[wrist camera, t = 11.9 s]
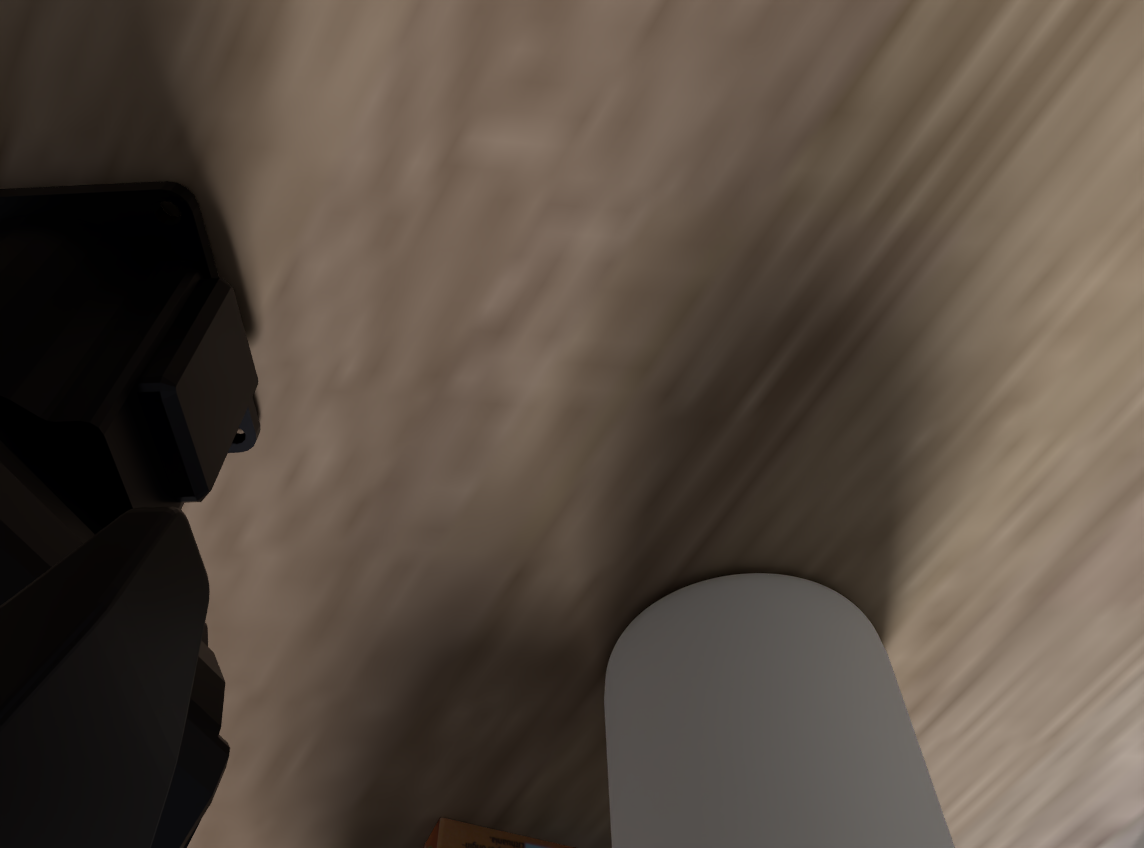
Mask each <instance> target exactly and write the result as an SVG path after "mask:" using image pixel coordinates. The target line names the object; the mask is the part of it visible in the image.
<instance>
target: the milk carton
mask: <svg viewBox="0 0 1144 848" xmlns="http://www.w3.org/2000/svg"><path fill="white" fill-rule="evenodd" d="M423 848H574V847H570V846H565V845H561V844H557V843H552V842H548V841H543V840H539V839H535V838H530V837H526V836H521V835H517V834H513V833H508V832H504V831H499V830H495V829H491V828H486V827H482V826H477V825H473V824H469V823H464V822H460V821H455V820H451V819H447V818H442V817H440V819H439V820H438V822H437V824H436V826H435V827H434V829H433V831H432V833H431V834H430V836H429V838H428V840H427V841H426V843H425V845H424V847H423Z"/></svg>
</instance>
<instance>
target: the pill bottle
mask: <svg viewBox="0 0 1144 848" xmlns="http://www.w3.org/2000/svg"><path fill="white" fill-rule="evenodd" d="M604 709H605V728H606V746H607V765H608V784H609V802H610V821H611V840H612V848H955V847H954V844H953V841H952V838H951V835H950V832H949V829H948V826H947V824H946V821H945V818H944V815H943V812H942V809H941V806H940V803H939V801H938V798H937V795H936V792H935V789H934V786H933V783H932V780H931V778H930V775H929V772H928V769H927V766H926V763H925V760H924V757H923V755H922V752H921V749H920V746H919V743H918V740H917V737H916V734H915V732H914V729H913V726H912V723H911V720H910V717H909V714H908V711H907V708H906V706H905V703H904V700H903V697H902V694H901V691H900V688H899V685H898V683H897V680H896V677H895V674H894V671H893V668H892V665H891V662H890V660H889V657H888V654H887V652H886V649H885V647H884V646H883V644H882V642H881V640H880V637H879V635H878V633H877V632H876V630H875V628H874V626H873V625H872V623H871V622H870V621H869V619H868V618H867V617H866V616H865V614H864V613H863V612H862V611H861V610H860V609H859V608H858V607H857V606H856V605H854V604H853V603H852V602H851V601H849V600H848V599H847V598H845V597H844V596H842V595H841V594H839V593H838V592H836V591H834V590H832V589H830V588H828V587H826V586H824V585H821V584H819V583H816V582H813V581H810V580H807V579H803V578H799V577H794V576H788V575H781V574H770V573H747V574H735V575H728V576H722V577H717V578H712V579H708V580H704V581H701V582H698V583H695V584H692V585H689V586H686V587H684V588H681V589H679V590H677V591H675V592H673V593H671V594H669V595H667V596H665V597H663V598H661V599H660V600H658V601H656V602H655V603H653V604H652V605H651V606H649V607H648V608H646V609H645V610H644V611H643V612H641V613H640V614H639V615H638V616H637V617H636V618H635V619H634V620H633V621H632V622H631V623H630V624H629V625H628V627H627V628H626V629H625V630H624V632H623V633H622V635H621V636H620V638H619V639H618V641H617V643H616V644H615V646H614V648H613V651H612V653H611V656H610V658H609V662H608V666H607V670H606V678H605V692H604Z"/></svg>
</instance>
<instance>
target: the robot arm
mask: <svg viewBox="0 0 1144 848" xmlns="http://www.w3.org/2000/svg"><path fill="white" fill-rule="evenodd" d="M162 201H167V202H171V203H173V204H174V205H176V206H177V207H178V209H179V211H180V212H181V216H178V217H176V216H171V215H169V214H168V213H166V212H165V211H164V209H163V208H162V206H161V202H162ZM257 385H258V377H257V374H256V370H255V366H254V363H253V359H252V355H251V352H250V348H249V344H248V341H247V337H246V333H245V330H244V326H243V322H242V319H241V315H240V311H239V308H238V304H237V300H236V297H235V293H234V289H233V287H232V286H231V285H230V284H228V283H227V282H226V281H225V280H224V279H223V278H222V277H219V275H218V272H217V268H216V265H215V261H214V258H213V254H212V250H211V247H210V243H209V240H208V236H207V233H206V229H205V225H204V222H203V218H202V215H201V211H200V208H199V204H198V202H197V200H196V198H195V196H194V194H193V193H192V192H191V191H190V190H189V189H188V188H187V187H185V186H183V185H181V184H179V183H175V182H168V181H164V182H143V183H122V184H101V185H80V186H59V187H39V188H18V189H0V848H187V846H188V844H189V842H190V840H191V838H192V836H193V835H194V833H195V831H196V829H197V827H198V825H199V823H200V821H201V818H202V817H203V815H204V814H205V812H206V810H207V809H208V807H209V806H210V804H211V802H212V800H213V797H214V795H215V792H216V790H217V788H218V785H219V783H220V781H221V778H222V776H223V773H224V771H225V769H226V765H227V761H228V758H229V752H230V747H229V745H228V743H227V742H226V741H225V740H224V739H223V738H222V737H221V736H220V735H219V732H220V729H221V723H222V712H223V702H224V691H225V680H224V678H223V675H222V673H221V670H220V667H219V665H218V662H217V660H216V657H215V655H214V652H213V651H212V650H211V649H210V648H209V647H208V628H207V624H206V623H205V620H206V615H207V609H208V604H209V581H208V576H207V572H206V569H205V567H204V564H203V561H202V558H201V555H200V553H199V550H198V547H197V544H196V541H195V538H194V536H193V533H192V530H191V527H190V524H189V522H188V519H187V517H186V515H185V514H184V513H183V512H182V510H181V509H182V506H183V504H184V503H185V502H201V501H202V500H203V499H204V498H205V497H206V496H207V494H208V493H209V492H210V491H211V490H212V487H213V485H214V483H215V481H216V478H217V476H218V474H219V471H220V469H221V467H222V465H223V462H224V460H225V458H226V456H227V453H236V452H244V451H248V450H249V449H251V448H252V447H253V446H254V444H255V442H256V440H257V438H258V435H259V433H260V422H259V418H258V415H257V411H256V408H255V404H254V400H253V397H252V396H253V394H254V392H255V390H256V387H257ZM238 428H240V429H242V430H243V431H244V433H243V434H239V433H237V431H238Z"/></svg>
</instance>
